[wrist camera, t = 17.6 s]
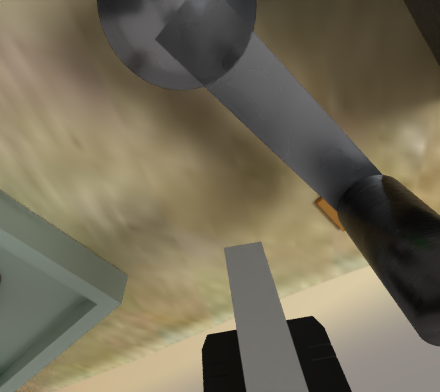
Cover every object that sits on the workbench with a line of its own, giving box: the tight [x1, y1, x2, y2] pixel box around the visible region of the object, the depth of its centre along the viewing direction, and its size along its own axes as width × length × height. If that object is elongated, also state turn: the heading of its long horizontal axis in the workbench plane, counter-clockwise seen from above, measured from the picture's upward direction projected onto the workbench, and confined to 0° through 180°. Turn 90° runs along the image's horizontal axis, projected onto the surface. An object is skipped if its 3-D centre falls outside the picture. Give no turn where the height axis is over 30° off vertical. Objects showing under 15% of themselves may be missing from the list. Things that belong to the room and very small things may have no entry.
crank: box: [97, 0, 440, 346], centre depth 11 cm, size 15×5×7 cm, turn 46°
